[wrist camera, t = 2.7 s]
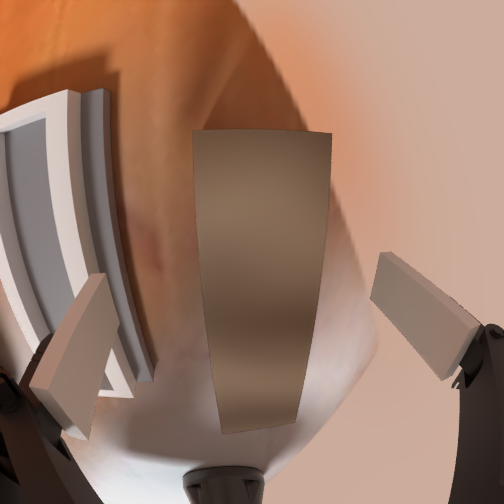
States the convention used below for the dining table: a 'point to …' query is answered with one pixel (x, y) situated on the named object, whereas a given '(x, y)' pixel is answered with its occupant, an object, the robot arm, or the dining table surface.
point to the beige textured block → (260, 265)
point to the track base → (46, 228)
